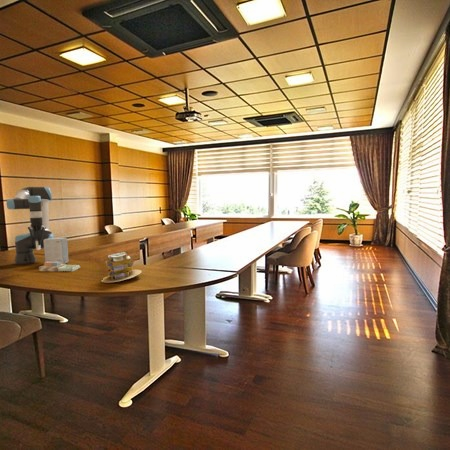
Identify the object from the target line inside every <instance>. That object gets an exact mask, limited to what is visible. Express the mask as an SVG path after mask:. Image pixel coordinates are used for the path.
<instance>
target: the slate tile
mask: <svg viewBox="0 0 450 450" xmlns="http://www.w3.org/2000/svg"><path fill="white" fill-rule="evenodd" d="M60 265H61V262H57V261H55V262H52V263H51V266H60Z"/></svg>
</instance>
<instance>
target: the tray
mask: <svg viewBox="0 0 450 450" xmlns="http://www.w3.org/2000/svg"><path fill="white" fill-rule="evenodd" d="M79 269H81V265H80V264H66V265H65V266H62V267H59V268H58V271H57V272H63V271H64V273H65V271H66V272H68V273H69V272H71V273H72V272H75V271H77V270H79Z"/></svg>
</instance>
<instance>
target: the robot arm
mask: <svg viewBox="0 0 450 450" xmlns="http://www.w3.org/2000/svg"><path fill="white" fill-rule="evenodd" d="M51 191H52V190H51V188H50V187H49V186H27V187H23V188H21V189H19V190H17V191H16V194H15V196H14V197H13V198H8V199H6V207H7V209H8V210H13V211H14V210H29V220H30V226H27V229H28V231H29V233H27V232H26V233H22V234H19V235H15V237H14V246H15V256H14V259H13V260H14V261H13V264H14V265H31V264H33V263H34V264H35V263H37V257H36V256H35V254H34V253H35V252H34V250H36V251H39V250H41V249H44V243H43V240H44V239H49V238H55V237H54V236H55V235H54V233H52V231H51V230H50V216H49V215H50V211H49V204H50V203H51V201H53V196H52V192H51Z"/></svg>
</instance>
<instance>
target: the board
mask: <svg viewBox="0 0 450 450" xmlns="http://www.w3.org/2000/svg"><path fill="white" fill-rule="evenodd" d="M65 265H67V263H65V264H61V265H60V266H44V264H43V265H41V266H38V272H59V271H58V268H59V267H62V266H65Z"/></svg>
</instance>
